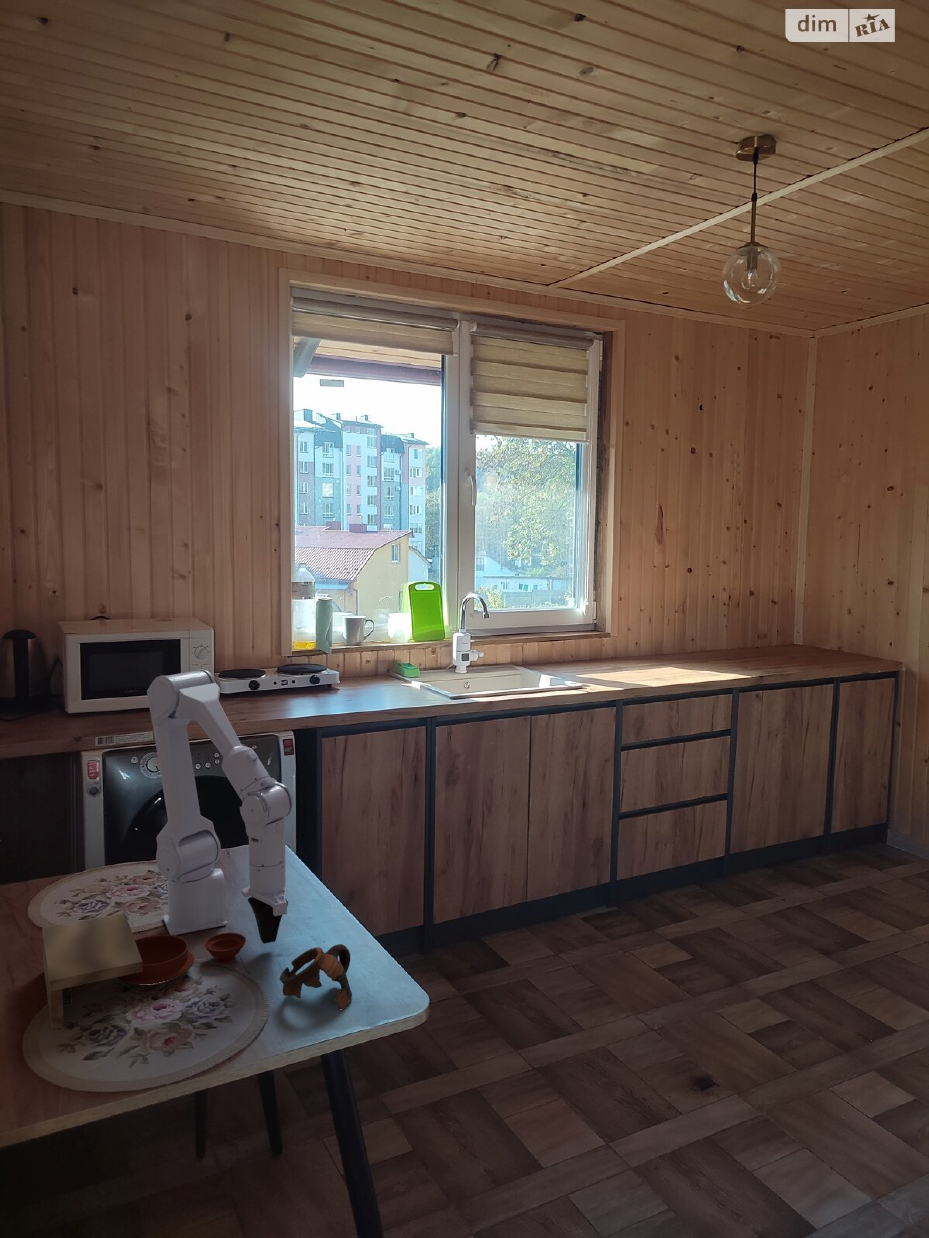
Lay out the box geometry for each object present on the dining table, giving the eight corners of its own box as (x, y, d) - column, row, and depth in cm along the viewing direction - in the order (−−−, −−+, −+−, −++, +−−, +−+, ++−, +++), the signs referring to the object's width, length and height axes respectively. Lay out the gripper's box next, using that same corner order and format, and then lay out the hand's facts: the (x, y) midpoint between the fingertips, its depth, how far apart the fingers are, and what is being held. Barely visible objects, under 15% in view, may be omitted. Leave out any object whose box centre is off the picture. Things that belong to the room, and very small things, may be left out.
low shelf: (126, 954, 143) (124, 912, 142) (143, 1007, 127) (142, 961, 127) (43, 971, 137) (42, 928, 137) (51, 1029, 122) (49, 980, 121)
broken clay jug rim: (336, 1025, 124) (306, 978, 123) (291, 1035, 129) (261, 989, 128) (377, 967, 135) (349, 923, 134) (333, 978, 139) (306, 935, 138)
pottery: (107, 969, 139) (106, 942, 138) (234, 940, 149) (234, 915, 148) (121, 1004, 129) (120, 975, 128) (256, 970, 139) (256, 943, 138)
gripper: (231, 849, 148) (232, 927, 149) (254, 880, 135) (256, 965, 137) (273, 843, 151) (273, 919, 153) (299, 872, 139) (300, 955, 140)
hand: (268, 940), depth 145 cm, fingers closed
